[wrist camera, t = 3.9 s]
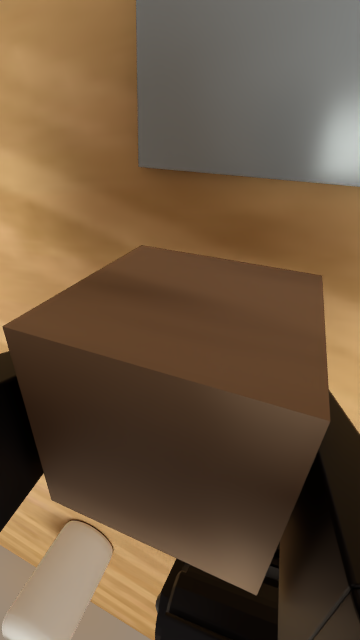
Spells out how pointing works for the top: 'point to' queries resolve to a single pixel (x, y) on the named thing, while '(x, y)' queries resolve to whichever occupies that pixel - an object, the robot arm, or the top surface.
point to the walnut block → (180, 402)
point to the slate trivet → (250, 88)
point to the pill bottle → (59, 586)
